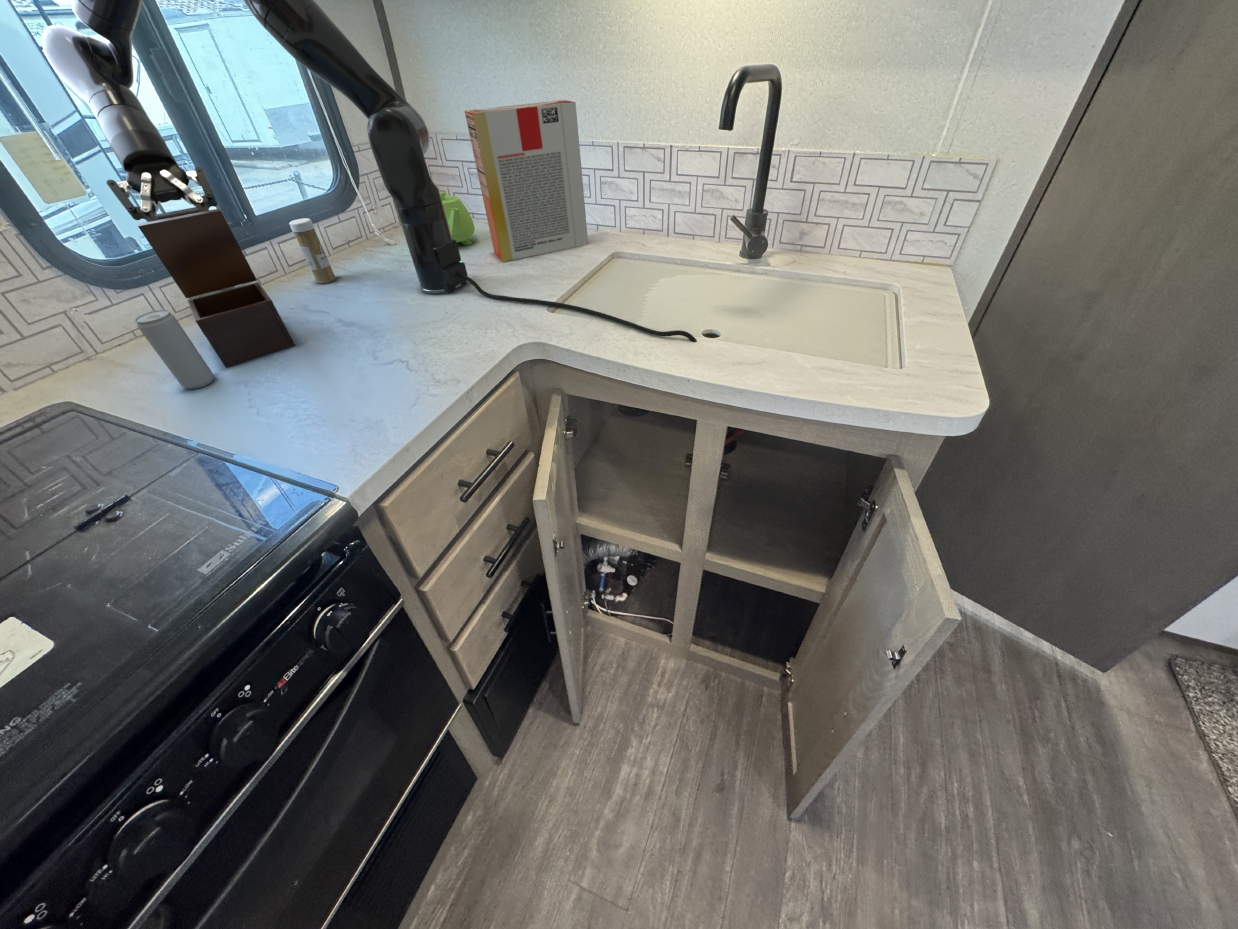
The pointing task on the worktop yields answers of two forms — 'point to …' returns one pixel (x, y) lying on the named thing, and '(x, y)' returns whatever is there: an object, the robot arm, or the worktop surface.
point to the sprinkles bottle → (312, 250)
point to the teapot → (458, 219)
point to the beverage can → (175, 348)
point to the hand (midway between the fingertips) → (188, 230)
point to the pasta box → (530, 177)
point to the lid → (198, 250)
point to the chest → (241, 323)
